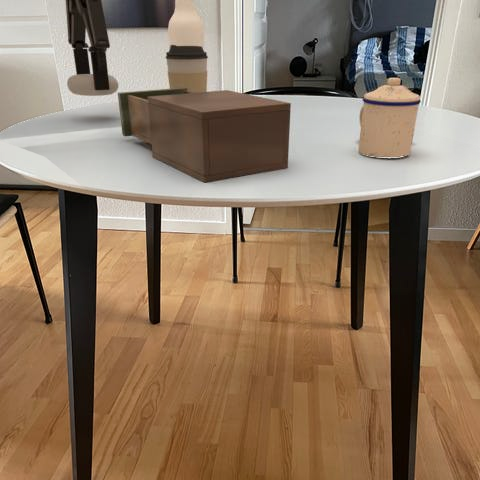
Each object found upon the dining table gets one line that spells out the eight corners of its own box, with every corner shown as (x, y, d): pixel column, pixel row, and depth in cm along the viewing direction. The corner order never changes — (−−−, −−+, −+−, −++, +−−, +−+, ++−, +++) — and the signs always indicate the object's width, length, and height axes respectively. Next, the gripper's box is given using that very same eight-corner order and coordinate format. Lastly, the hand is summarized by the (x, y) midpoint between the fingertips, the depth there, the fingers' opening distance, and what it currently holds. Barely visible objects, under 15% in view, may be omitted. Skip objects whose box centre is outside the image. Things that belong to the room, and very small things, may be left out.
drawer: (120, 134, 94) (114, 91, 90) (184, 127, 101) (181, 86, 97) (160, 153, 82) (156, 104, 78) (230, 143, 88) (230, 97, 84)
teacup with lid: (422, 156, 83) (437, 79, 77) (378, 162, 80) (389, 82, 74) (378, 142, 92) (388, 72, 86) (336, 147, 89) (343, 75, 83)
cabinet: (152, 157, 83) (146, 96, 78) (227, 146, 90) (227, 90, 85) (204, 182, 70) (201, 112, 65) (287, 167, 77) (291, 103, 72)
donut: (102, 90, 107) (58, 92, 101) (100, 72, 105) (56, 73, 99) (128, 95, 101) (84, 98, 95) (127, 76, 99) (82, 78, 93)
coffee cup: (196, 115, 118) (193, 42, 110) (217, 120, 112) (216, 44, 104) (162, 119, 113) (156, 44, 105) (182, 125, 107) (178, 46, 99)
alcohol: (168, 106, 130) (158, -35, 114) (179, 101, 137) (171, -32, 121) (200, 107, 128) (195, -36, 112) (210, 102, 135) (205, -33, 120)
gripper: (119, -55, 83) (132, 92, 94) (77, -44, 99) (93, 80, 110) (74, -59, 79) (93, 94, 91) (38, -47, 95) (58, 82, 107)
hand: (93, 86), depth 100 cm, fingers closed on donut, 10 cm apart
